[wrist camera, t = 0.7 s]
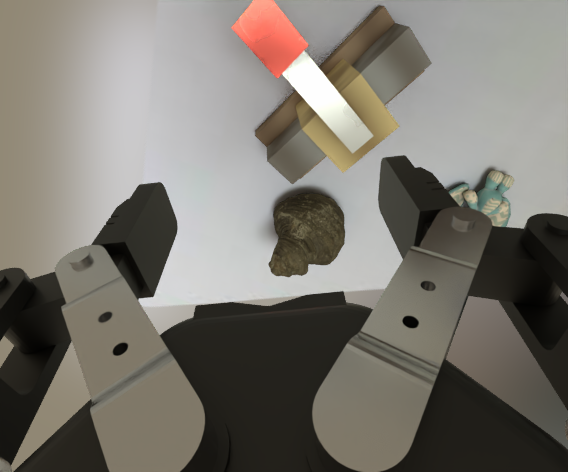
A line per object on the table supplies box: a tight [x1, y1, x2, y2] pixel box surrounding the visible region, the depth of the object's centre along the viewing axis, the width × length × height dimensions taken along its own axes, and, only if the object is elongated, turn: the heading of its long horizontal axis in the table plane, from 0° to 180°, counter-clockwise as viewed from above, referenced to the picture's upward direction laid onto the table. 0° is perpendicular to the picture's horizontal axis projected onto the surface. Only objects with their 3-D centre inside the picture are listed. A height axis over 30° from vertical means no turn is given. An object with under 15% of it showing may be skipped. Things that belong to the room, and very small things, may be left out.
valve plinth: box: [255, 6, 431, 184], centre depth 31 cm, size 16×7×8 cm, turn 134°
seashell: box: [269, 194, 345, 277], centre depth 39 cm, size 11×12×10 cm
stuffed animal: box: [448, 171, 514, 227], centre depth 41 cm, size 11×7×12 cm
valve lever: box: [232, 0, 373, 154], centre depth 24 cm, size 12×3×3 cm, turn 44°
